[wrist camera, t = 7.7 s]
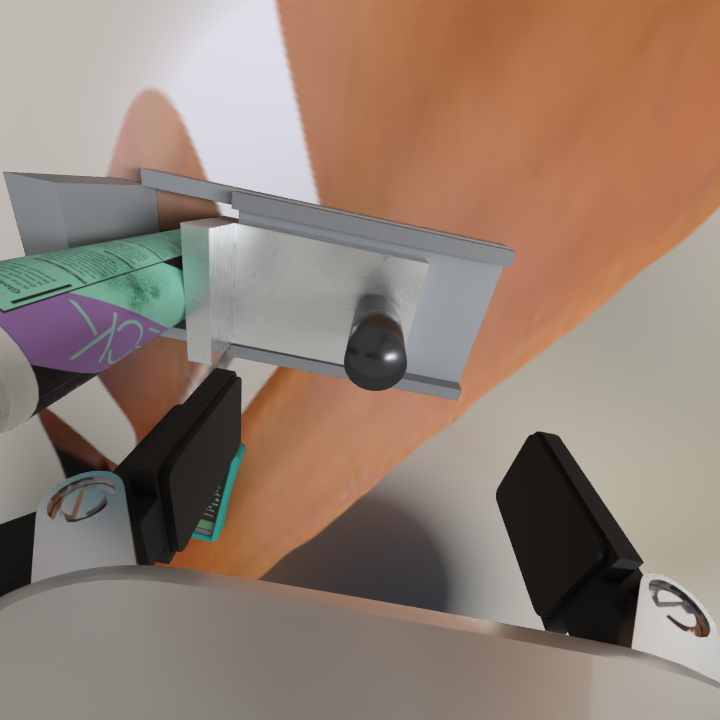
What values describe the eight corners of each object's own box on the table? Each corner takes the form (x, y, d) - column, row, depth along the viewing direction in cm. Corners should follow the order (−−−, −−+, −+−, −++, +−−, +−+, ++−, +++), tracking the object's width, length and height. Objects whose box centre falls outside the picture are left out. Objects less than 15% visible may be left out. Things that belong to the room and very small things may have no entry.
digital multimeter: (249, 438, 34) (238, 458, 31) (225, 525, 40) (214, 548, 38) (178, 415, 33) (161, 434, 30) (165, 508, 40) (150, 530, 37)
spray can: (160, 285, 26) (-295, 476, 9) (165, 215, 24) (-454, 282, 6) (227, 308, 27) (-70, 533, 9) (238, 243, 25) (-135, 375, 7)
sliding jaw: (224, 215, 22) (136, 228, 14) (425, 258, 23) (449, 293, 15) (224, 329, 26) (154, 389, 18) (396, 363, 27) (402, 436, 19)
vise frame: (117, 161, 23) (-4, 147, 15) (503, 244, 24) (556, 267, 16) (138, 322, 28) (56, 366, 21) (450, 384, 29) (473, 446, 22)
